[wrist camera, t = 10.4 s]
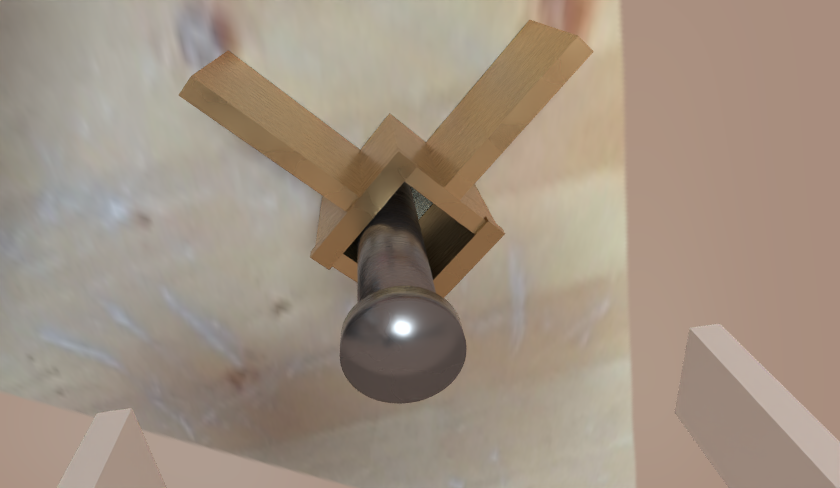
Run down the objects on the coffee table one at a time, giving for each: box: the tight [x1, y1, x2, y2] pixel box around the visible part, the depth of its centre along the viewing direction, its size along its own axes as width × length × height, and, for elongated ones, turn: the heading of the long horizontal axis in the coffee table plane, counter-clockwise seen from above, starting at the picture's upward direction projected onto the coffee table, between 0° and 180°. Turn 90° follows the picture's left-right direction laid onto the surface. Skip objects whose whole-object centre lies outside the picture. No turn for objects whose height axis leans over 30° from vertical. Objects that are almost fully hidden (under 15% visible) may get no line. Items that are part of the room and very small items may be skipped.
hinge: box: [179, 20, 593, 298], centre depth 22 cm, size 12×12×6 cm
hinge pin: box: [340, 181, 466, 403], centre depth 22 cm, size 4×4×13 cm
